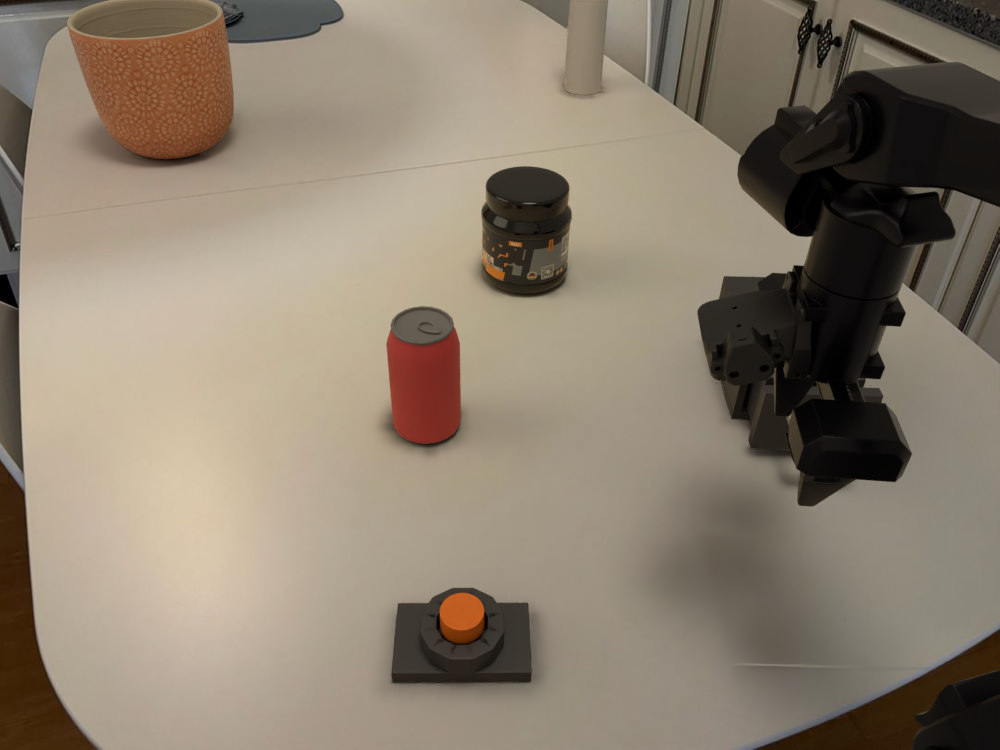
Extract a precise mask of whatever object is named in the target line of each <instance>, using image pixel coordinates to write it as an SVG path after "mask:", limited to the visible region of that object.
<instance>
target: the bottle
mask: <svg viewBox="0 0 1000 750" xmlns="http://www.w3.org/2000/svg"><path fill="white" fill-rule="evenodd" d="M608 8H609V0H569V7H568V21H567V22H568V23H567V35H566V50H565V63H564V79H563V89H564V91H566V92H568V94H572V95H577V96H590V95H591V96H592V95H595V94H598V93H600V91H601V90H602V80H603V69H604V57H605V56H604V55H605V45H606V33H607V19H608V10H609V9H608Z"/></svg>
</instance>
